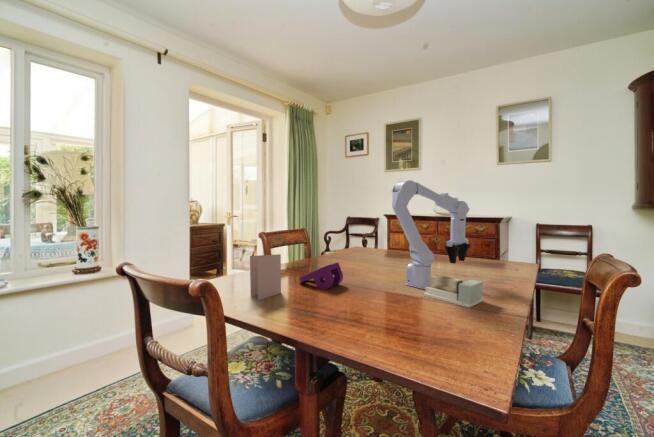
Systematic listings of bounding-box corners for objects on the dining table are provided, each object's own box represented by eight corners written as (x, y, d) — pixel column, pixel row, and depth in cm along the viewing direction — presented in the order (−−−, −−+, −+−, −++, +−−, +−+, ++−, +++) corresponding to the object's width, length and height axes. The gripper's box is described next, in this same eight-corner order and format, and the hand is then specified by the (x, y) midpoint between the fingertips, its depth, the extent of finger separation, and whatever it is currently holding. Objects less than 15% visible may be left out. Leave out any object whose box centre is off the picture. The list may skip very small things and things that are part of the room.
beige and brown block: (430, 292, 119) (430, 276, 118) (436, 290, 121) (436, 274, 121) (457, 298, 111) (457, 281, 111) (462, 296, 114) (462, 279, 113)
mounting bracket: (301, 298, 134) (332, 286, 124) (294, 279, 136) (325, 266, 126) (314, 293, 142) (345, 281, 132) (308, 275, 143) (338, 262, 133)
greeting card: (280, 292, 123) (280, 253, 122) (284, 297, 116) (283, 257, 115) (250, 295, 120) (249, 255, 119) (252, 301, 112) (251, 259, 112)
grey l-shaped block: (423, 295, 118) (424, 277, 117) (438, 290, 124) (438, 273, 124) (469, 307, 105) (469, 286, 104) (482, 301, 111) (482, 281, 111)
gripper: (458, 231, 125) (458, 265, 126) (475, 229, 134) (474, 260, 135) (442, 230, 130) (441, 263, 131) (459, 228, 140) (458, 258, 140)
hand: (457, 261), depth 133 cm, fingers open, 7 cm apart
